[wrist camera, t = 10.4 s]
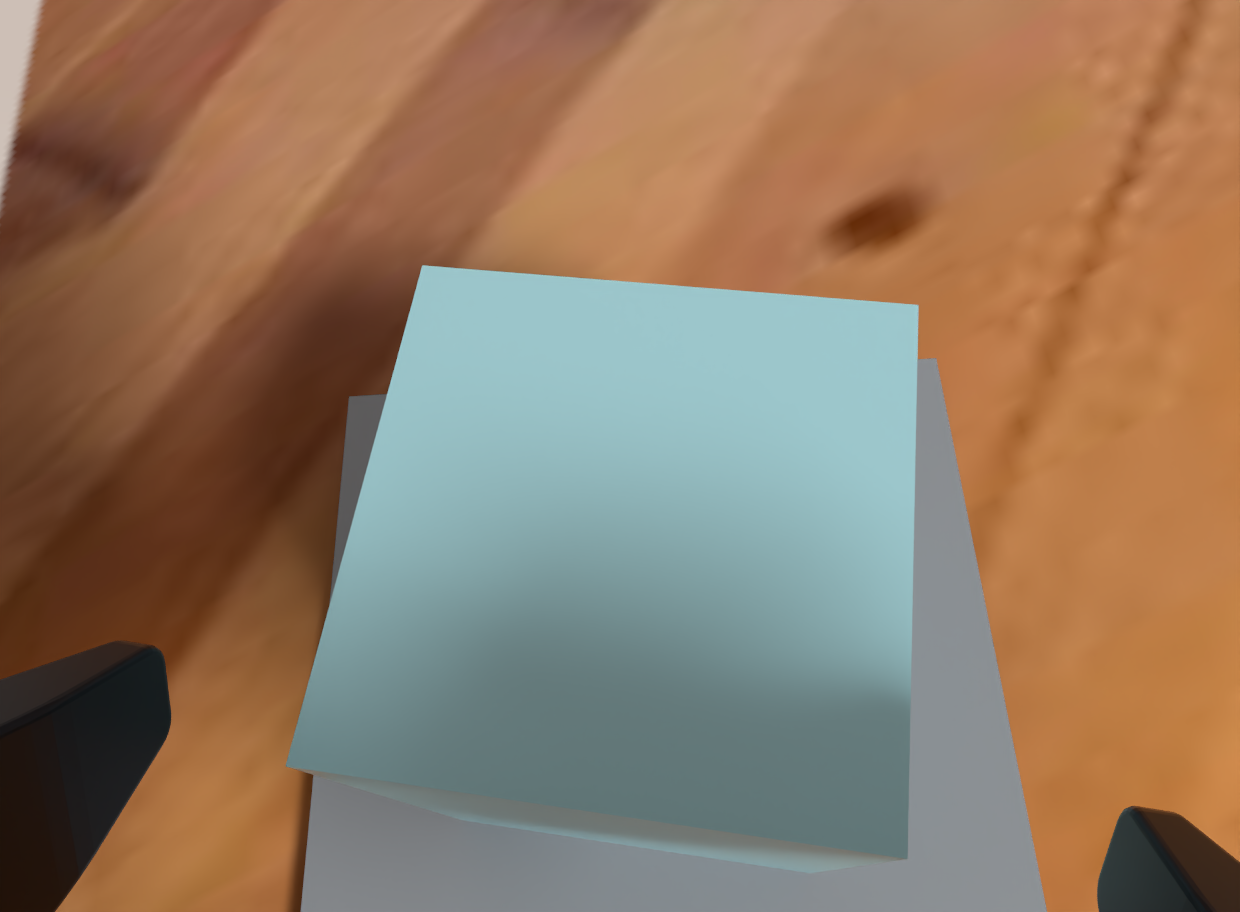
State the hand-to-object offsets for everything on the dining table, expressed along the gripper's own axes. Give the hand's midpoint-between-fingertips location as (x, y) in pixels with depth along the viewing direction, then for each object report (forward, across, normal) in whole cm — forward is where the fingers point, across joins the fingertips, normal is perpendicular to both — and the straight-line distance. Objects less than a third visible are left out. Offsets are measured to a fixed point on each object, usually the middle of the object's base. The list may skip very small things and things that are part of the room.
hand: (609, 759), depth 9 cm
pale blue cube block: (+10, 0, +5) cm, 11 cm away
